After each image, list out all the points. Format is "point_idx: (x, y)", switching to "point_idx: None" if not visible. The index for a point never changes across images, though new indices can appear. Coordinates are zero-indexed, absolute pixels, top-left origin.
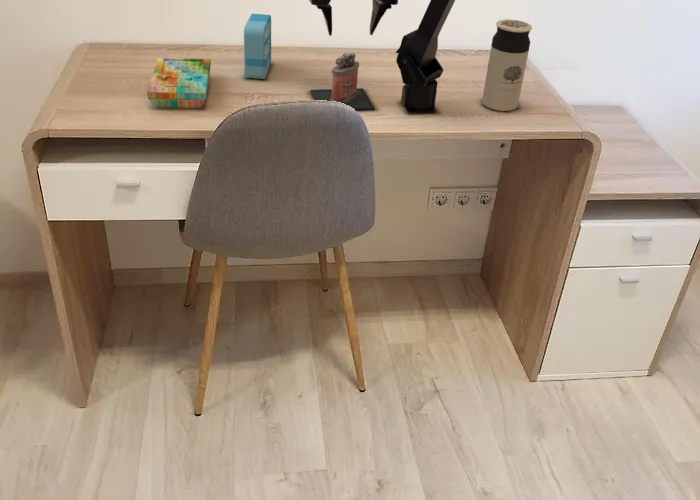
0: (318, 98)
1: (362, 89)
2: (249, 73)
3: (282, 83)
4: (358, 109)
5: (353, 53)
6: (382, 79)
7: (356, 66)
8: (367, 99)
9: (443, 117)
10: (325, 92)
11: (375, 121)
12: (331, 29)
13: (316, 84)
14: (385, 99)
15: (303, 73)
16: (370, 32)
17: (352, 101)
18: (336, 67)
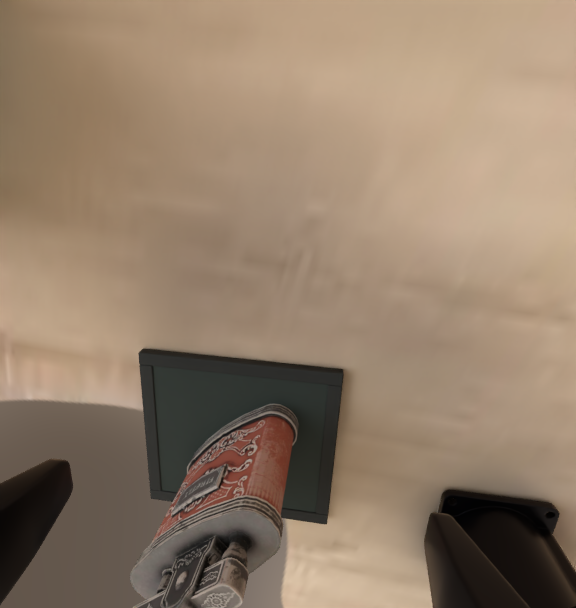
0: (157, 424)
1: (337, 385)
2: None
3: (45, 247)
4: None
5: (232, 595)
6: (484, 265)
7: (256, 565)
8: (324, 468)
9: None
10: (189, 381)
11: (303, 573)
12: (22, 565)
13: (174, 278)
14: (400, 453)
15: (134, 140)
16: (431, 551)
17: None
18: (153, 566)
